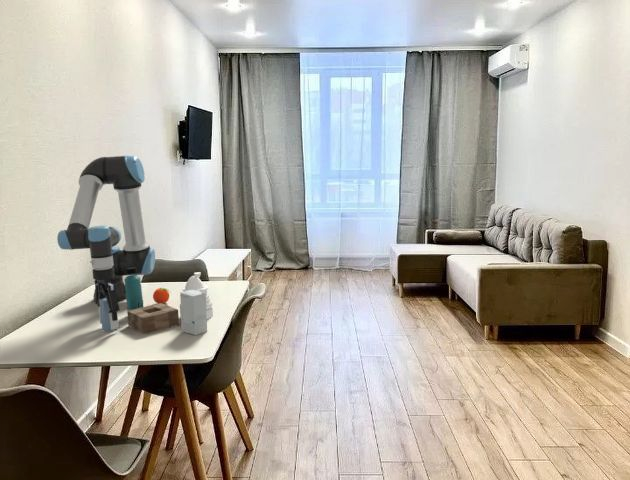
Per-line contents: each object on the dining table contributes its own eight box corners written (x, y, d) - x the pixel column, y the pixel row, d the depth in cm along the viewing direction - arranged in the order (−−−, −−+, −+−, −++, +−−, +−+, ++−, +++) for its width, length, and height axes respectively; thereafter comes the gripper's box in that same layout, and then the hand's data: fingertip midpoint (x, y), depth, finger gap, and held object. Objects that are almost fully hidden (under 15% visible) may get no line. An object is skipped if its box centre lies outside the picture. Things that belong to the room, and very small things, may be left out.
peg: (102, 330, 213) (99, 299, 211) (112, 327, 216) (109, 297, 214) (106, 332, 210) (103, 301, 208) (117, 329, 213) (113, 299, 211)
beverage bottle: (139, 318, 226) (134, 269, 223) (124, 317, 228) (119, 269, 224) (147, 313, 233) (142, 265, 229) (132, 313, 234) (128, 265, 231)
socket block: (128, 325, 217) (127, 310, 216) (162, 317, 226) (160, 302, 225) (144, 333, 206) (143, 318, 205) (179, 324, 216) (177, 309, 215)
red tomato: (174, 301, 249) (173, 285, 248) (169, 305, 243) (167, 289, 241) (157, 301, 250) (155, 286, 249) (151, 306, 243) (149, 290, 242)
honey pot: (219, 313, 228) (216, 270, 225) (200, 323, 217) (196, 277, 214) (193, 310, 233) (190, 268, 230) (173, 320, 222) (169, 275, 219)
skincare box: (181, 331, 207) (178, 292, 205) (194, 327, 212) (191, 288, 209) (195, 335, 202) (192, 295, 199) (209, 331, 206) (206, 291, 204)
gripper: (81, 265, 215) (88, 322, 218) (104, 273, 198) (111, 334, 202) (101, 262, 220) (107, 317, 223) (125, 270, 203) (131, 329, 207)
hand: (109, 325), depth 213 cm, fingers open, 10 cm apart
